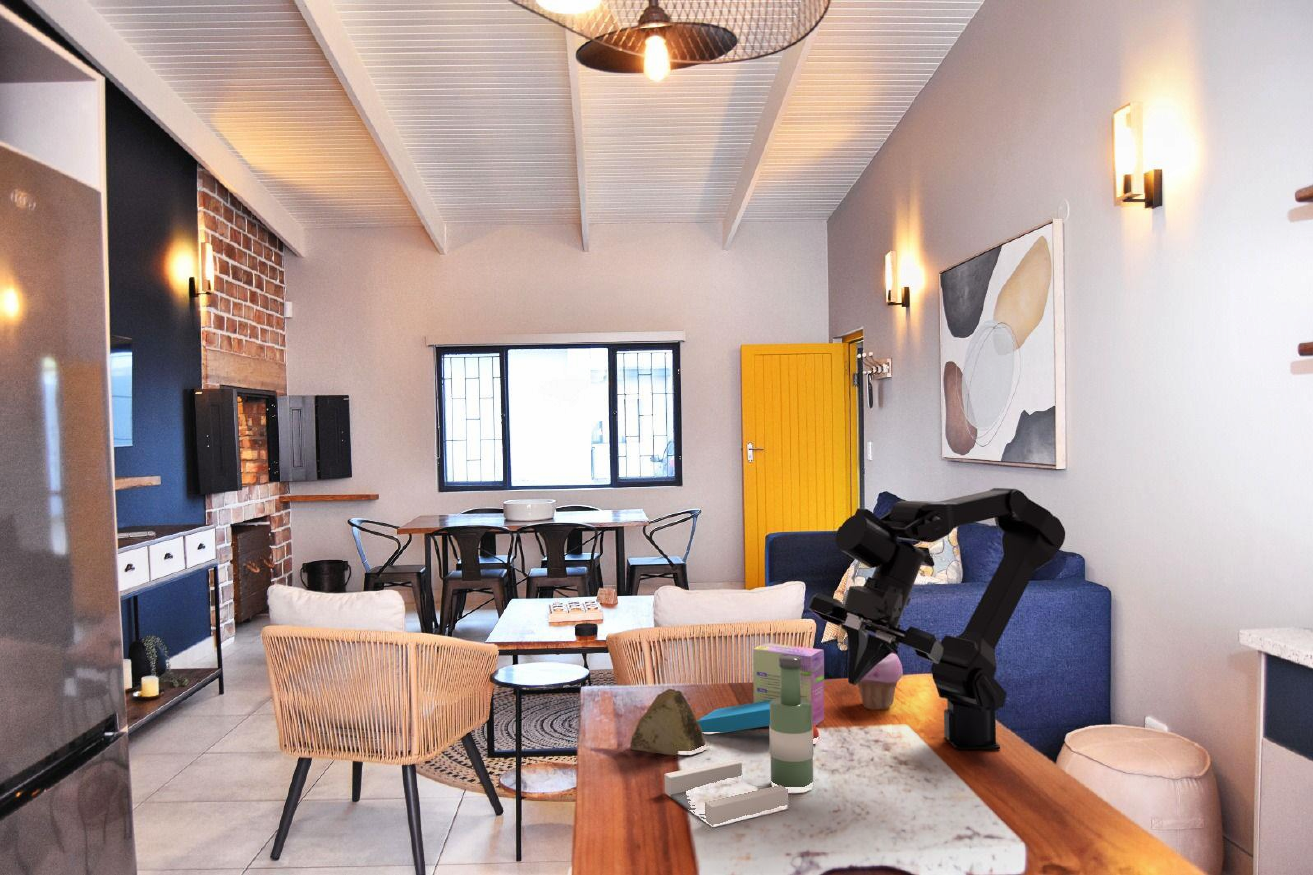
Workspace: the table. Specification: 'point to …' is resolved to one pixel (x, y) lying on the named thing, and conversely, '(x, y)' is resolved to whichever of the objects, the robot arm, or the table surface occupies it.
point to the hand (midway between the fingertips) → (851, 684)
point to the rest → (726, 806)
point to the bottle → (791, 729)
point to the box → (770, 675)
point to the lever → (740, 718)
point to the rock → (668, 726)
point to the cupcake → (881, 683)
